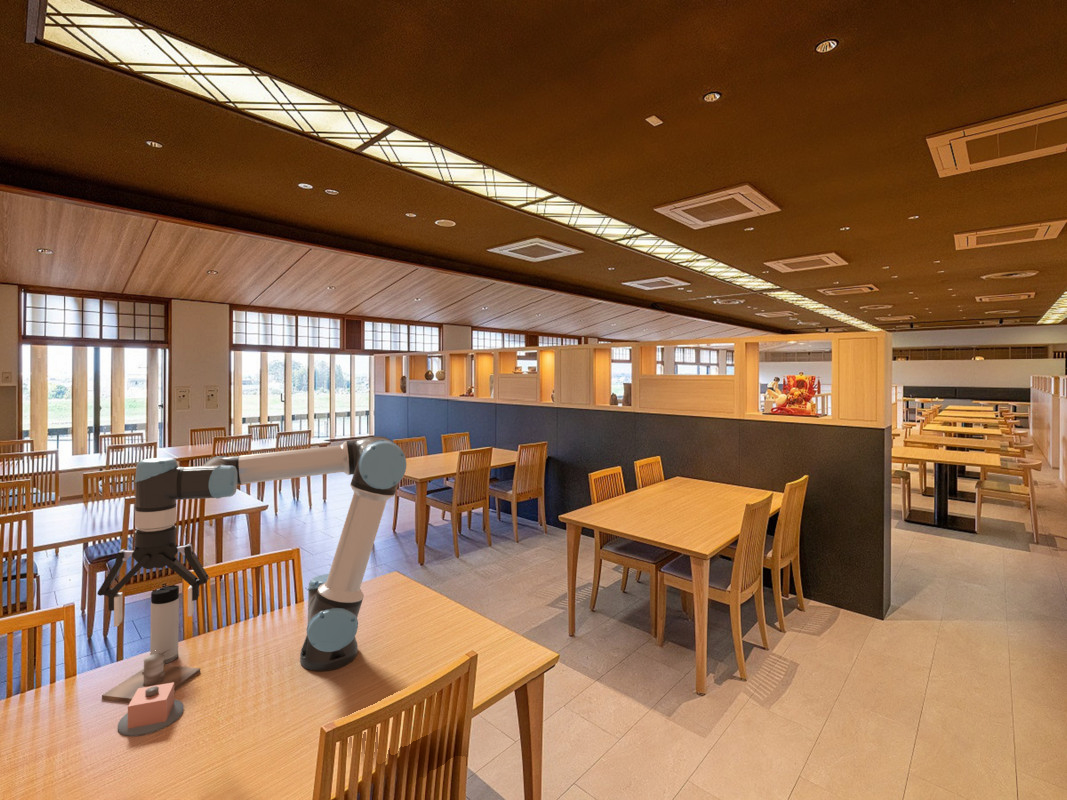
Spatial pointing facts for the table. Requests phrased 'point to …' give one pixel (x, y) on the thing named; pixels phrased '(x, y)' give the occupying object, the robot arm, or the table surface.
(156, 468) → the robot arm
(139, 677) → the brown wooden stand
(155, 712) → the pink block with knob
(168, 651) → the travel mug
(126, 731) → the mat
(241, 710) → the table surface
